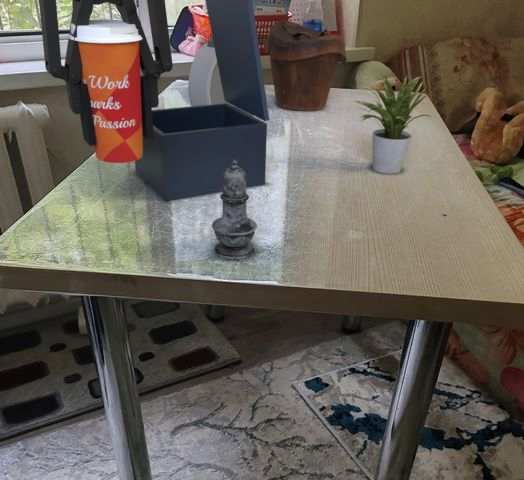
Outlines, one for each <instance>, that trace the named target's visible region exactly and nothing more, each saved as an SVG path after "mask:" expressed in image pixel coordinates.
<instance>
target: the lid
mask: <svg viewBox="0 0 524 480" xmlns="http://www.w3.org/2000/svg"><path fill="white" fill-rule="evenodd" d="M204 2H205V6H206V12H207V17H208V21H209V27H210V31H211V32H210V33H211V37H212V38H213V43H214V48H215V53H216V58H217V63H218V68H219V74H220V79H221V84H222V89H223V94H224V99H225V101H226V102H228V103H230V104H232V105H234V106H236V107H238V108H240V109H242V110H244V111H246V112H248V113H250V114H252V116H253V117H255V118H257V119H259V120H261V121H263V122H268V121H270V114H269V107H268V102H267V101H268V99H267V94H266V87H265V81H264V80H265V79H264V73H263V67H262V59H261V52H260V46H259V38H258V33H257V32H258V31H257V25H256V24H257V23H256V18H255V12H254V3H253V0H204Z"/></svg>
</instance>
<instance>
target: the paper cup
mask: <svg viewBox="0 0 524 480" xmlns="http://www.w3.org/2000/svg"><path fill="white" fill-rule="evenodd" d="M70 24H71V33H72V34H73V33H74V30H75V25H74V24H72V23H71V22H70ZM68 38H69V39H71V40H74V37H73V36H71V35H69V34H68ZM139 40H142V37H141V35H139V34H138V29H136V26H135V24H128V23H125V22H123V21H122V19H105V18H104V19H101V18H100V19H99V18H98V19H97V18H95V19H90V21H89V25H87V26H78V27H77V37H76V38H75V41H78V45H79V50H80V55H81V60H82V70H81V77H80V81H81V82H83V83H85V84H87V85H88V90H89V95H90V103H91V110H92V117H93V125H94V132H95V140H96V145H93V149H94V153H95V156H96V159H97V160H99V161H101V162H104V163H109V164H110V163H111V164H126V163H132V162H135V161H136V160H138V159H140V158H141V157H142V155H143V137H142V107H141V80H140V76H141V68H140V53H139Z"/></svg>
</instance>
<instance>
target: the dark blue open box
mask: <svg viewBox="0 0 524 480" xmlns="http://www.w3.org/2000/svg"><path fill="white" fill-rule="evenodd" d="M152 119H153V133H154V139H149V140H148V139H147V138H146V137H144V136H143V135H142V137H143V155H142V157H141V158H140V159H138V160H136V161H134V165H135V172H136V173H137V174H138V175H139V176H140V177H141V178H142V179H143V180H144V181H145V182H147V184H148V185H149V186H150V187H151V188H152V189H154V191H155V192H156V193H157V194H159V196H160V197H162V198H163V199H164V200H165V202H168V201H174V200H180V199H185V198H191V197H197V196H205V195H210V194H217V193H221V192H222V193H223V172H224V170H225V169H226V168H228V167H231V166H232V165H233V164H232V162H233V160H234V159H235V160H236V162H237V164H236V165H237V166H238V167H241V168H242V169H244V171H245V172H246V189H247V188H251V187H252V188H253V187H258V186H264V185H266V165H267V162H266V161H267V136H268V135H267V134H268V123H266V122H265V121H264V120H262V119H260V118H258V117H256V116H254V115H252V116H251V115H249V114H247V113H245V112H243V111H241V110H239V109H237V108H235V107H233V106H231V105H229V104H227V103H223V104H212V105H201V106H191V105H190V106H181V107H171V108H159V109H152Z"/></svg>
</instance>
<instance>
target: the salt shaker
mask: <svg viewBox="0 0 524 480" xmlns="http://www.w3.org/2000/svg"><path fill="white" fill-rule="evenodd" d="M232 164H233V165H232V166H231V167H228V168H226V169H225V170H224V172H223V191H222V193H221V194H219V198H220V200H221V201H222V213H221V217H218V218H217V219H214V220H213V222H212V223H211V228H212V230H213V231H214V232H213V233H214V235H215V237H216V240H217V241H219V243H218V244H216V246H215V247H214V253H215V254H216V255H217V256H219V257H220V258H223V259H226V260H243V259H247V258H250V257H251V256H253V254H254V253H255V247H254V246H253V245H252V244H251V243H250V242H251V241H252V240H253V238H254V236H255V233H256V232H255V231H256V230H257V229H258V224H257V222H256V221H255V220H254V219H252V218H250V217H248V213H247V201H248V200H249V198H250V196H249V194H248V193H247V188H246V172H245V171H244V169H242V168H241V167H238V166H237V165H236V164H237V162H236V160H235V159H234V160H233V162H232Z"/></svg>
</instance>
